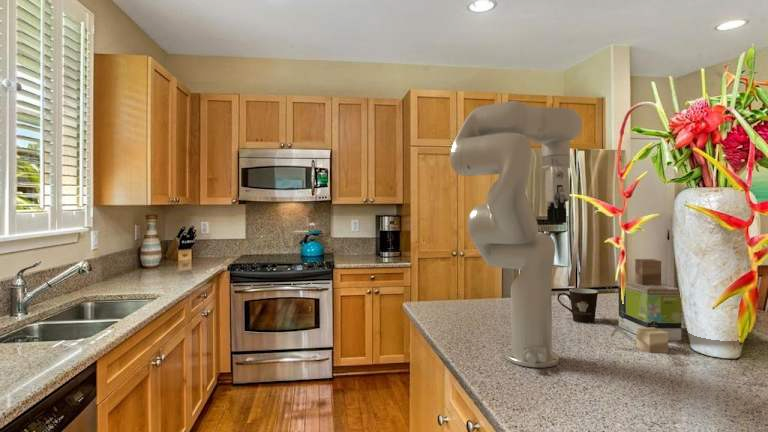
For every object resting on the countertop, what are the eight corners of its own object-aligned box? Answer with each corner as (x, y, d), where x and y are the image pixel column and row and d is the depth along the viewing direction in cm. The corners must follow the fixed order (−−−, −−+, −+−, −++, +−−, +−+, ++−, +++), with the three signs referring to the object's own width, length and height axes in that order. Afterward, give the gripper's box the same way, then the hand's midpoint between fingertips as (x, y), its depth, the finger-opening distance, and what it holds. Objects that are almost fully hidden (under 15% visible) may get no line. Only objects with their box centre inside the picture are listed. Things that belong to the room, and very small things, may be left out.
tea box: (683, 341, 116) (683, 288, 116) (646, 341, 116) (646, 288, 116) (649, 326, 131) (649, 279, 131) (617, 326, 131) (617, 279, 131)
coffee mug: (603, 321, 137) (603, 291, 137) (589, 325, 132) (589, 294, 132) (570, 314, 146) (570, 286, 146) (555, 318, 142) (555, 289, 141)
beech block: (668, 352, 107) (667, 332, 107) (649, 352, 107) (649, 333, 107) (654, 345, 112) (653, 327, 112) (636, 346, 112) (636, 328, 112)
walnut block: (661, 285, 120) (661, 261, 120) (642, 285, 121) (642, 261, 121) (653, 282, 125) (653, 259, 125) (635, 282, 126) (635, 259, 126)
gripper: (577, 158, 111) (578, 223, 111) (563, 165, 128) (563, 221, 128) (547, 160, 113) (548, 223, 113) (537, 166, 130) (537, 221, 130)
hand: (556, 222), depth 121 cm, fingers open, 9 cm apart
